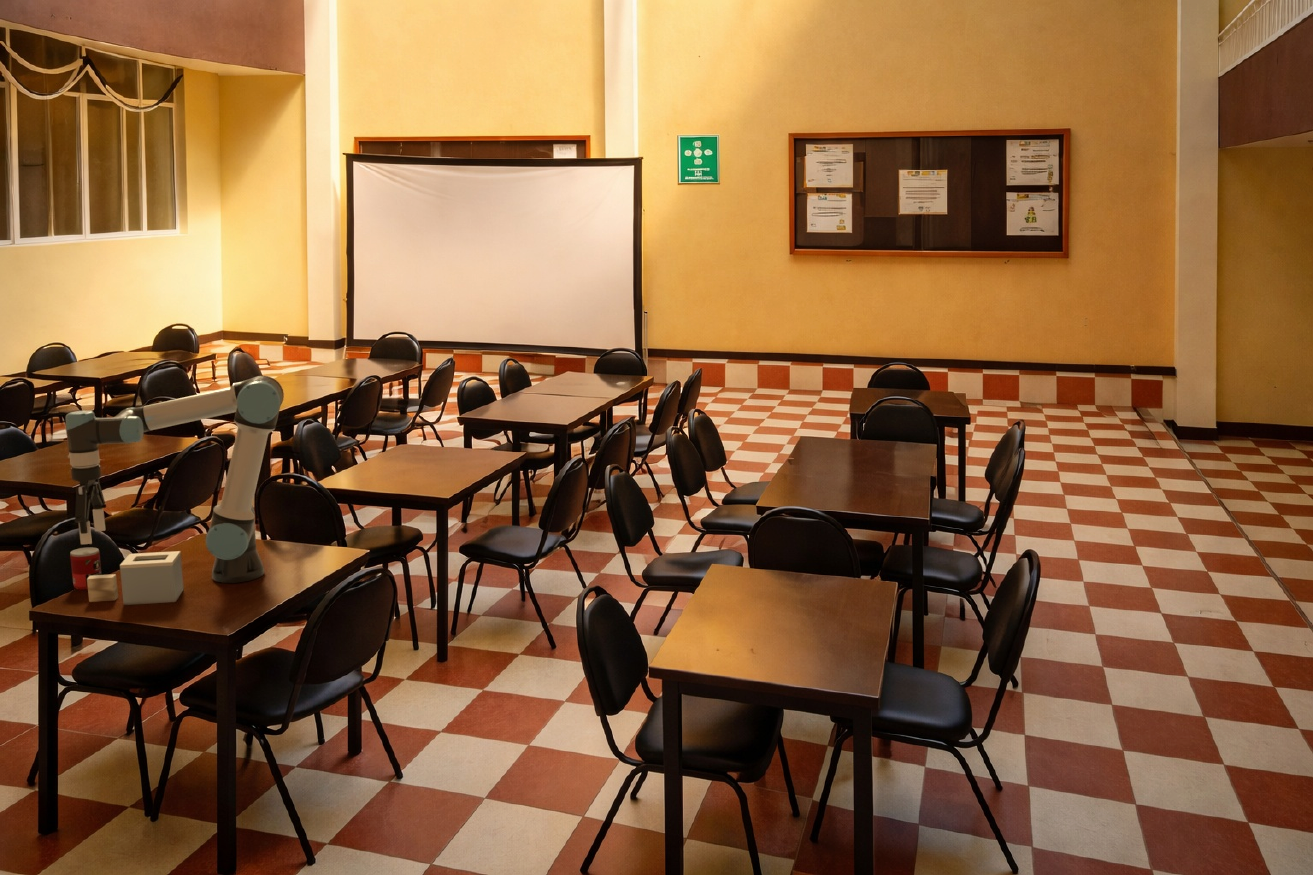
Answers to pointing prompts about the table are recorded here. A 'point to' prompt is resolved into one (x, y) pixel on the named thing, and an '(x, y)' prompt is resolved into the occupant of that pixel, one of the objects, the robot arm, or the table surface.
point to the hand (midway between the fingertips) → (93, 537)
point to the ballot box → (151, 577)
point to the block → (102, 588)
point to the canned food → (84, 565)
